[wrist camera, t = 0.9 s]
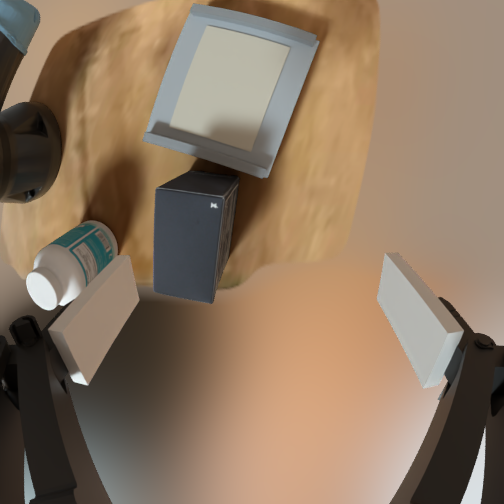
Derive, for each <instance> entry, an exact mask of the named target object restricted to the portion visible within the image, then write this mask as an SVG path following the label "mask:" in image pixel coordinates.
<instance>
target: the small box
mask: <svg viewBox="0 0 504 504" xmlns="http://www.w3.org/2000/svg"><path fill="white" fill-rule="evenodd" d="M239 180H240V178H239V177H238V176H234V175H233V176H232V175H231V176H228V175H223V174H214V173H207V172H204V171H188V172H186V173H184V174H182V175H180V176H179V177H177V178H175V179H173V180H171V181H169V182H167V183H165V184H163V185H161V186H159V187H157V188H156V193H155V213H154V253H153V290H154V292H157V293H160V294H165V295H169V296H174V297H179V298H184V299H189V300H194V301H200V302H205V303H210V304H212V303H213V301H214V297H215V293H216V290H217V287H218V284H219V281H220V279H221V276H222V273H223V270H224V268H225V265H226V263H227V261H228V259H229V252H230V244H231V237H232V230H233V222H234V216H235V210H236V203H237V195H238V187H239Z"/></svg>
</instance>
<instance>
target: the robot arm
mask: <svg viewBox="0 0 504 504" xmlns="http://www.w3.org/2000/svg"><path fill="white" fill-rule="evenodd" d="M39 23H40V14H39V12H38V10H37V9H36V8H35V7H34V6H32V5H31V4H29V3H28V2H26V1H24V0H0V202H1V203H28V202H31V201H33V200H35V199H38V198H40V197H41V196H43V195H44V194H45V193H46V192H47V191H48V190H49V189H50V187H51V186H52V184H53V182H54V180H55V178H56V176H57V173H58V170H59V166H60V160H61V136H60V130H59V126H58V123H57V121H56V119H55V117H54V115H53V113H52V112H51V111H50V109H49V108H48V107H46V106H45V105H43V104H41V103H39V102H22V103H18V104H16V105H14V106H11V107H10V108H8V109H6V110H4V111H2V112H1V109H2V106H3V103H4V101H5V98H6V95H7V93H8V90H9V88H10V85H11V83H12V80H13V78H14V76H15V74H16V71H17V69H18V67H19V65H20V63H21V61H22V59H23V57H24V56H25V55H26V54H27V48H28V46H29V44H30V42H31V40H32V38H33V36H34V34H35V32H36V30H37V28H38V26H39ZM138 301H139V296H138V292H137V288H136V283H135V279H134V274H133V270H132V265H131V260H130V255H117V256H116V257H115V258H114V259H113V260H112V261H111V262H110V263H109V264H108V265H107V266H106V267H105V268H104V269H103V270H102V271H101V272H100V273H99V274H98V275H97V276H96V277H95V278H94V279H93V280H92V281H91V282H90V283H89V285H88V286H87V287H86V288H85V289H84V290H83V291H82V292H81V293H80V294H79V295H78V296H77V297H76V298H75V299H73V300H72V301H70V302H69V303H67V304H66V305H65V306H64V307H63V308H62V309H61V310H60V312H59V313H57V315H56V316H55V318H53V319H52V320H51V321H50V322H49V323H48V325H47V326H46V327H45V328H44V329H43V330H42V332H41V330H40V328H39V326H38V324H37V321H36V319H35V317H33V316H29V315H27V316H23V317H20V318H18V319H17V320H15V321H14V322H13V323H12V324H11V325H10V328H9V330H10V333H11V335H12V337H13V339H14V341H15V343H16V345H9V344H8V342H7V340H6V338H5V337H4V336H2V335H1V336H0V504H25V499H24V452H25V451H26V456H27V461H28V465H29V470H30V474H31V479H32V483H33V487H34V490H35V495H36V496H35V498H34V499H32V500H30V503H29V504H112V502H111V500H110V498H109V497H108V494H107V492H106V490H105V488H104V486H103V484H102V481H101V479H100V477H99V475H98V472H97V470H96V468H95V465H94V463H93V460H92V458H91V455H90V453H89V450H88V448H87V445H86V442H85V439H84V437H83V434H82V431H81V428H80V425H79V422H78V418H77V415H76V412H75V409H74V405H73V402H72V398H71V395H70V391H69V387H68V383H67V382H66V380H65V376H66V375H67V373H68V372H69V374H70V376H71V378H72V380H73V381H74V382H77V383H80V384H85V385H88V384H89V383H90V380H91V379H92V377H93V376H94V374H95V372H96V370H97V369H98V367H99V365H100V363H101V362H102V360H103V358H104V357H105V355H106V353H107V351H108V350H109V348H110V346H111V345H112V343H113V341H114V340H115V338H116V337H117V335H118V333H119V332H120V330H121V328H122V327H123V325H124V324H125V322H126V320H127V319H128V317H129V316H130V314H131V312H132V311H133V309H134V308H135V306H136V305H137V303H138ZM377 301H378V302H379V304H380V306H381V308H382V309H383V311H384V313H385V315H386V317H387V318H388V320H389V322H390V324H391V326H392V328H393V330H394V331H395V333H396V335H397V337H398V339H399V341H400V343H401V345H402V346H403V349H404V350H405V353H406V354H407V356H408V358H409V360H410V362H411V364H412V366H413V369H414V371H415V372H416V375H417V377H418V379H419V381H420V383H421V385H422V387H423V388H428V387H433V386H437V385H439V383H440V382H441V380H442V378H443V376H444V375H445V376H446V378H447V380H448V382H447V384H446V386H445V387H444V389H443V391H442V393H441V394H440V396H439V398H438V400H440V402H439V404H438V407H437V410H436V413H435V415H434V417H433V420H432V422H431V425H430V427H429V429H428V432H427V434H426V436H425V439H424V441H423V443H422V445H421V447H420V449H419V451H418V454H417V455H416V457H415V459H414V461H413V463H412V466H411V467H410V469H409V471H408V473H407V475H406V477H405V478H404V480H403V482H402V484H401V485H400V487H399V489H398V491H397V492H396V494H395V496H394V497H393V499H392V501H391V502H390V504H460V503H461V501H462V499H463V496H464V493H465V491H466V488H467V486H468V483H469V480H470V477H471V474H472V472H473V468H474V465H475V462H476V459H477V456H478V452H479V449H480V445H481V441H482V437H483V433H484V428H486V446H485V447H486V448H485V469H484V481H483V491H482V499H481V504H504V346H497V345H496V344H495V342H494V341H493V340H492V339H491V338H490V337H489V336H487V335H485V334H481V333H474V332H473V330H472V329H471V328H470V327H469V325H468V324H467V323H466V322H465V321H464V319H463V318H462V317H460V314H459V313H458V312H457V311H456V309H455V308H454V307H453V306H452V305H451V304H450V303H449V302H448V301H446V300H445V299H443V298H442V297H437V296H436V295H435V294H434V293H433V291H432V290H431V289H430V288H429V287H428V286H427V284H426V283H425V282H424V281H423V280H422V279H421V278H420V276H419V275H418V274H417V273H416V272H415V271H414V270H413V269H412V267H411V266H410V265H409V264H408V263H407V262H406V261H405V260H404V259H403V258H402V256H401V255H400V254H399V253H385V257H384V263H383V269H382V274H381V280H380V286H379V290H378V296H377ZM2 382H3V383H4V385H5V388H4V390H3V386H2Z"/></svg>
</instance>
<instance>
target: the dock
mask: <svg viewBox="0 0 504 504" xmlns="http://www.w3.org/2000/svg"><path fill="white" fill-rule="evenodd" d="M316 37H317V35H315V34H312V33H310V32H307V31H304V30H301V29H298V28H295V27H292V26H289V25H286V24H283V23H280V22H276V21H273V20H269V19H266V18H262V17H258V16H255V15H251V14H246V13H242V12H238V11H233V10H228V9H223V8H218V7H213V6H207V5H200V4H193V5H192V7H191V9H190V14H189V16H188V18H187V20H186V23H185V25H184V27H183V30H182V32H181V34H180V37H179V39H178V41H177V44H176V46H175V49H174V51H173V54H172V56H171V59H170V61H169V64H168V67H167V69H166V72H165V75H164V78H163V81H162V83H161V86H160V89H159V92H158V95H157V98H156V101H155V104H154V107H153V111H152V114H151V117H150V120H149V124H148V127H147V131H146V132H145V134H144V137H143V141H144V142H147V143H151V144H155V145H158V146H162V147H165V148H169V149H172V150H176V151H179V152H182V153H186V154H189V155H192V156H196V157H199V158H202V159H205V160H208V161H211V162H215V163H218V164H221V165H224V166H227V167H230V168H233V169H236V170H239V171H242V172H245V173H247V174H250V175H253V176H256V177H259V178H262V179H263V177H265V178H268V176H269V173H270V171H271V168H272V165H273V162H274V160H275V157H276V154H277V152H278V149H279V146H280V144H281V141H282V139H283V136H284V133H285V131H286V128H287V125H288V123H289V120H290V117H291V115H292V112H293V109H294V107H295V104H296V102H297V99H298V96H299V94H300V91H301V89H302V86H303V83H304V81H305V78H306V76H307V73H308V70H309V68H310V65H311V63H312V60H313V57H314V55H315V52H316V50H317V47H318V45H319V42H320V41H317V40H316Z"/></svg>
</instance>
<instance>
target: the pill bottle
mask: <svg viewBox="0 0 504 504" xmlns="http://www.w3.org/2000/svg"><path fill="white" fill-rule="evenodd" d="M117 254H118V246H117V242H116V239H115V237H114V235H113V233H112V232H111V230H110V229H109V228H108V227H107V226H106V225H104V224H103V223H101V222H98V221H94V220H90V221H85V222H83V223H81V224H80V225H78V226H76V227H75V228H73V229H72V230H70V231H69V232H67V233H65V234H64V235H62V236H61V237H59V238H58V239H56V240H55V241H53V242H52V243H50V244H49V245H47V246H46V247H44V248H43V249H42V250H40V251H39V253H38V254H37V256H36V258H35V261H34V270H33V271H32V272H30V273H29V274H28V276H27V280H26V283H27V289H28V292H29V294H30V296H31V297H32V299H33V300H34V302H36V304H37V305H39V306H40V307H41V308H43V309H46V310H52V309H54V308H55V307H56V306H57V305H58V304H59V305H63V306H65V305H66V304H67V303H69V302H70V301H72V300H73V299H75V298H76V297H77V296H78V295H79V294H80V293H81V292H82V291H83V290H84V289H85V288H86V287H87V286H88V285H89V283H90V282H91V281H92V280H93V279H94V278H95V277H96V276H97V275H98V274H99V273H100V272H101V271H102V270H103V269H104V268H105V267H106V266H107V265H108V264H109V263H110V262H111V261H112V260H113V259H114V258H115V257H116V256H117Z"/></svg>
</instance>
